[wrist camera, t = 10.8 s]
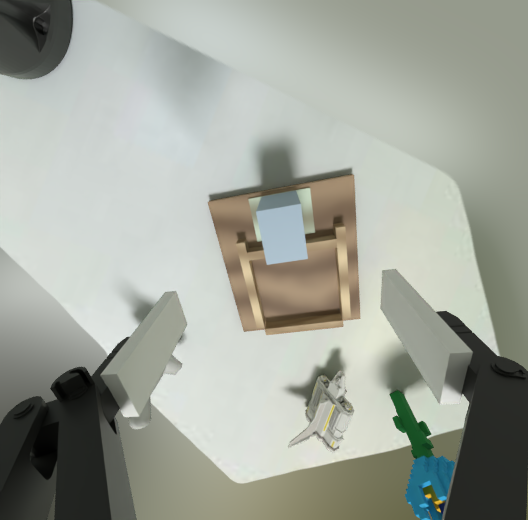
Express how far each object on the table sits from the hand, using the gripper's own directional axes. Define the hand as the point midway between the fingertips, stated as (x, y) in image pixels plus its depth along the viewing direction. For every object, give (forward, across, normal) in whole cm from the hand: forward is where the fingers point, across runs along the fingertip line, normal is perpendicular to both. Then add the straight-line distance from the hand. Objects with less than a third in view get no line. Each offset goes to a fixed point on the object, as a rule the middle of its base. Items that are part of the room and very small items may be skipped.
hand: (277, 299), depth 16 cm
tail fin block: (+19, 0, 0) cm, 19 cm away
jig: (+21, +1, -7) cm, 22 cm away
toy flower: (+21, +18, -37) cm, 46 cm away
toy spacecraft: (+13, -1, -32) cm, 34 cm away
